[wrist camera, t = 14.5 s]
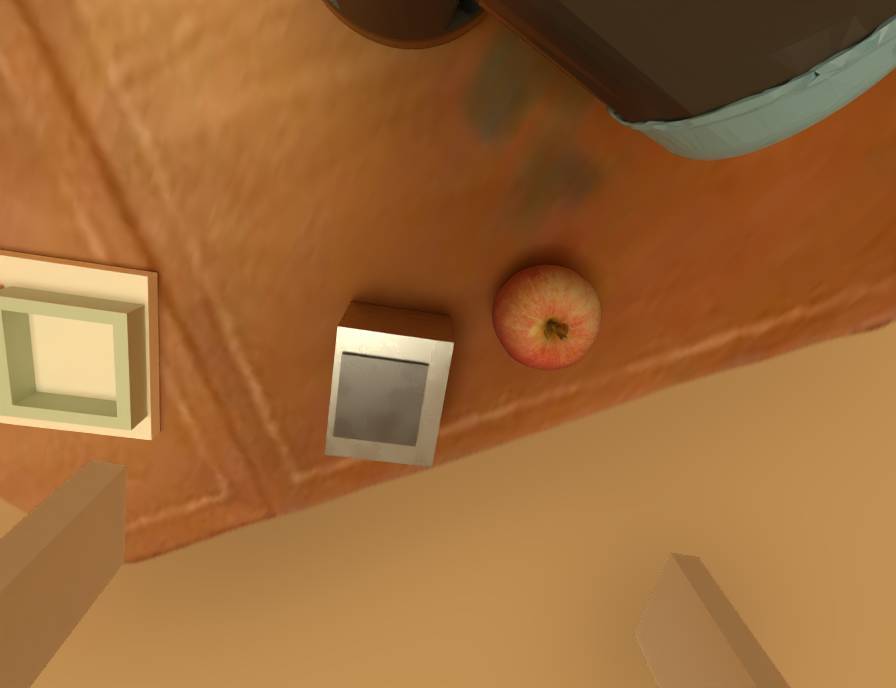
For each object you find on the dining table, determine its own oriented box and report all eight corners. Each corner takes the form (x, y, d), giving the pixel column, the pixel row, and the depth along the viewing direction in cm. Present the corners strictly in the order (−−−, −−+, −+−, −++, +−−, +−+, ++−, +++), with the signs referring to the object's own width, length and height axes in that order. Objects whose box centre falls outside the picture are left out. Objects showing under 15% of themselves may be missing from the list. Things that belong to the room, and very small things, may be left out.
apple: (598, 323, 43) (636, 356, 35) (513, 365, 43) (532, 406, 36) (561, 238, 40) (594, 254, 32) (471, 284, 41) (483, 310, 33)
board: (-126, 231, 37) (-187, 238, 34) (157, 272, 39) (129, 283, 36) (-93, 401, 42) (-144, 425, 38) (160, 431, 44) (135, 456, 40)
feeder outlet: (351, 301, 41) (336, 328, 34) (448, 315, 42) (454, 344, 35) (339, 411, 44) (323, 457, 37) (430, 423, 45) (432, 470, 38)
